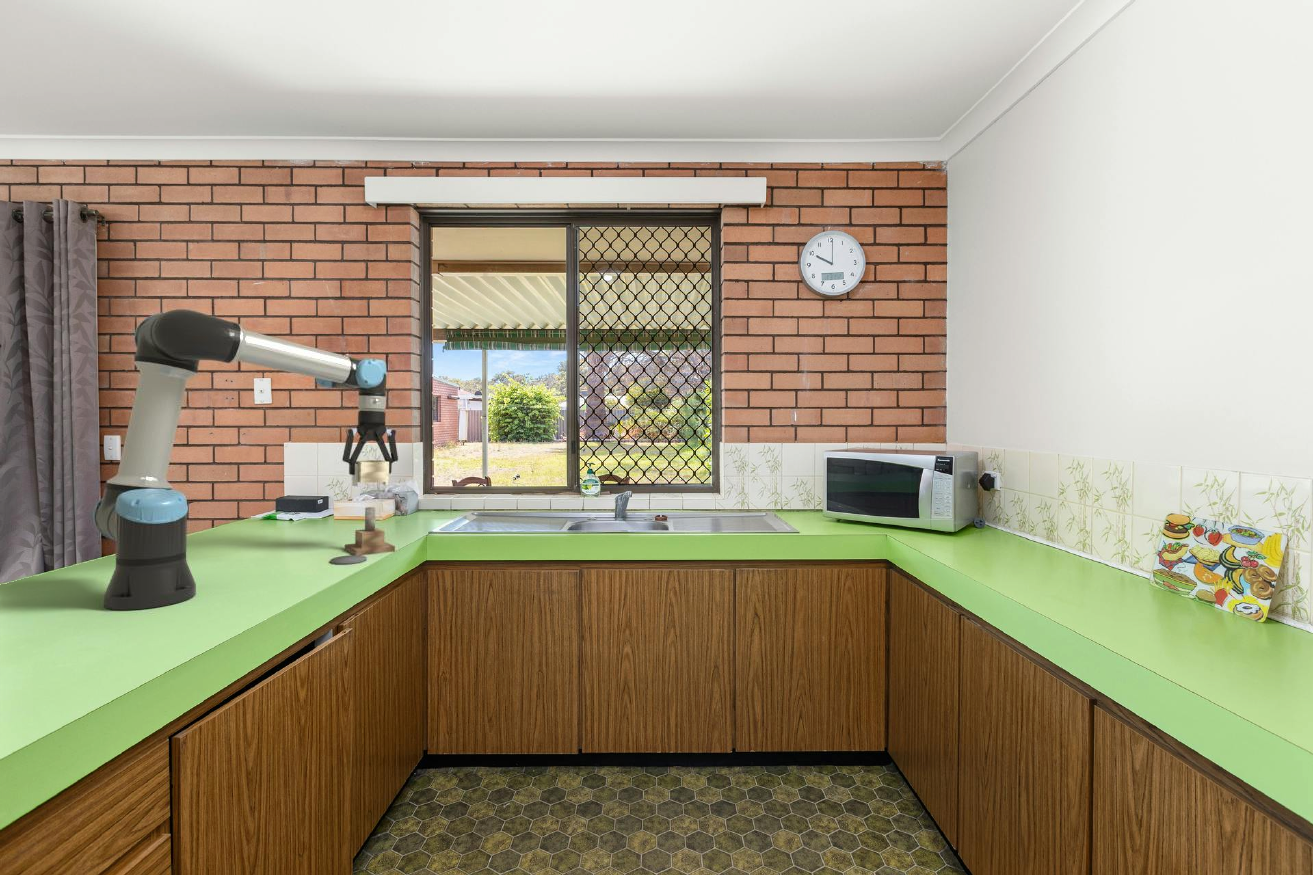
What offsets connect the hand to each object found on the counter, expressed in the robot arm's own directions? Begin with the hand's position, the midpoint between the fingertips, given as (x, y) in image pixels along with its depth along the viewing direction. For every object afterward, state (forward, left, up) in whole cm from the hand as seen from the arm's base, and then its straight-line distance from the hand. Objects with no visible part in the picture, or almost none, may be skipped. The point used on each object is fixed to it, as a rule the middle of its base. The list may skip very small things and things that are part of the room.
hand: (370, 485), depth 181 cm
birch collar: (0, 0, +1) cm, 1 cm away
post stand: (0, 0, -20) cm, 20 cm away
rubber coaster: (-9, -11, -20) cm, 25 cm away
